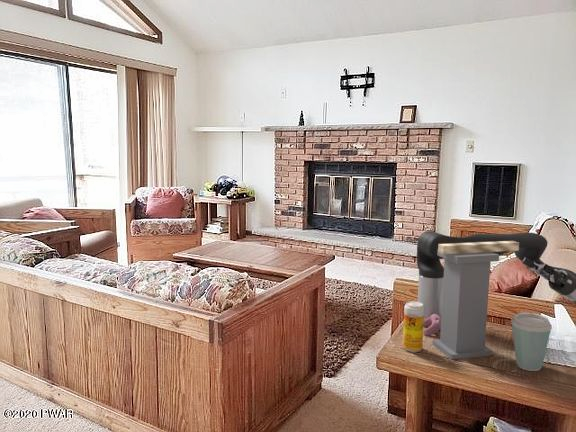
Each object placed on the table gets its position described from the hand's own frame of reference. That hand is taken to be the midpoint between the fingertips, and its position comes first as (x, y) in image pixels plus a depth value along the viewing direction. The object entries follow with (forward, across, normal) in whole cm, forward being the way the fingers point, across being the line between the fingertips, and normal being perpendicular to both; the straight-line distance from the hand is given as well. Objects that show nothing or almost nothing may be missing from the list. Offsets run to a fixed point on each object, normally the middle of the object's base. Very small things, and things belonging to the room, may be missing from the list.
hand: (533, 263), depth 149 cm
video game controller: (+8, +16, -37) cm, 41 cm away
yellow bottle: (+19, +4, -44) cm, 48 cm away
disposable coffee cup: (-4, -14, -29) cm, 33 cm away
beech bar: (+20, 0, -6) cm, 21 cm away
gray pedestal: (+6, 0, -36) cm, 36 cm away
